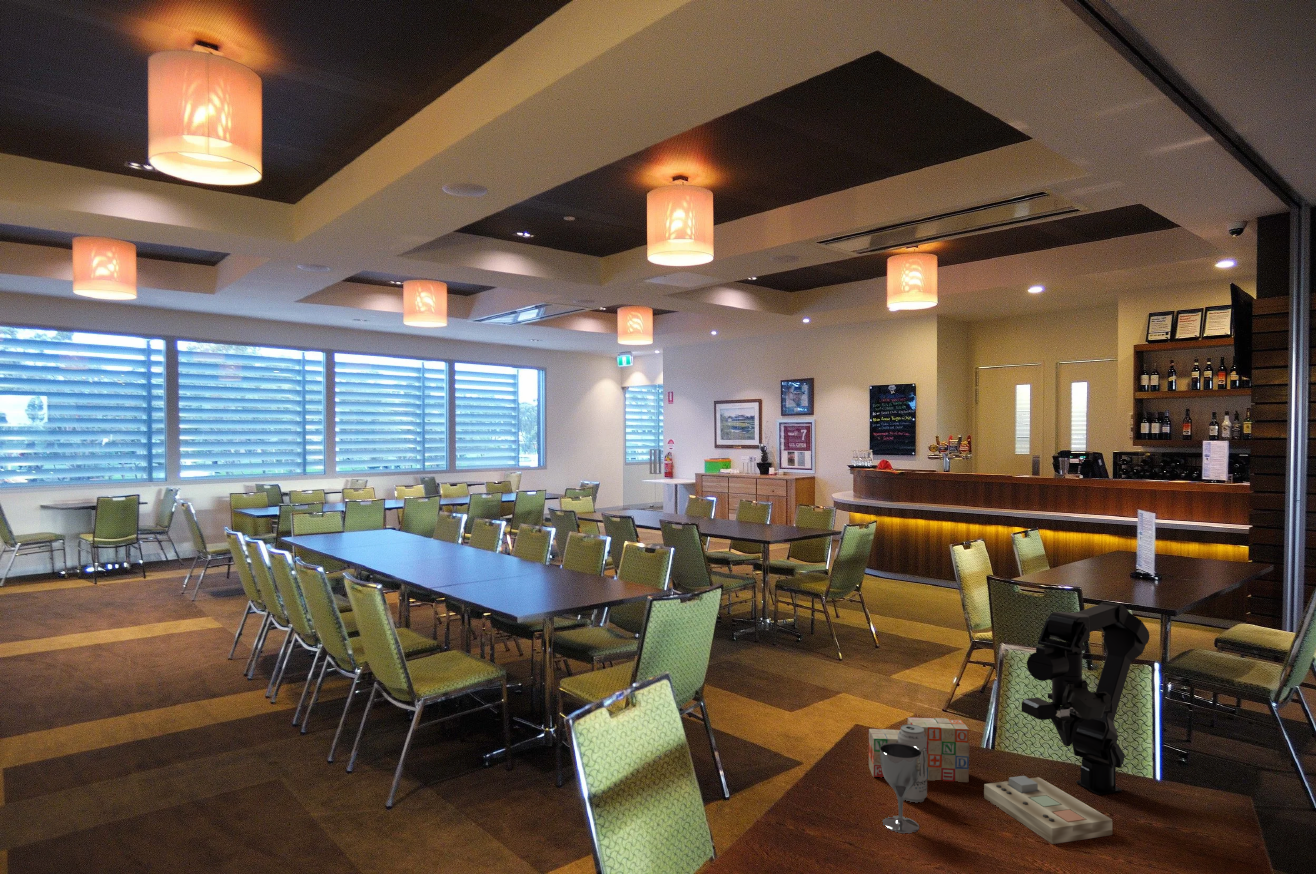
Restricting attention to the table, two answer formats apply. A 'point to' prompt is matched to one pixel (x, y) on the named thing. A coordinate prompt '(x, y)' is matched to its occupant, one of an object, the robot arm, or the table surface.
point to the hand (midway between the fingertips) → (1066, 745)
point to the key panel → (1048, 812)
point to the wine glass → (900, 779)
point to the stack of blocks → (930, 748)
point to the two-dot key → (1068, 816)
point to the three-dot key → (1023, 784)
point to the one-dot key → (1045, 801)
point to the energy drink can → (918, 739)
